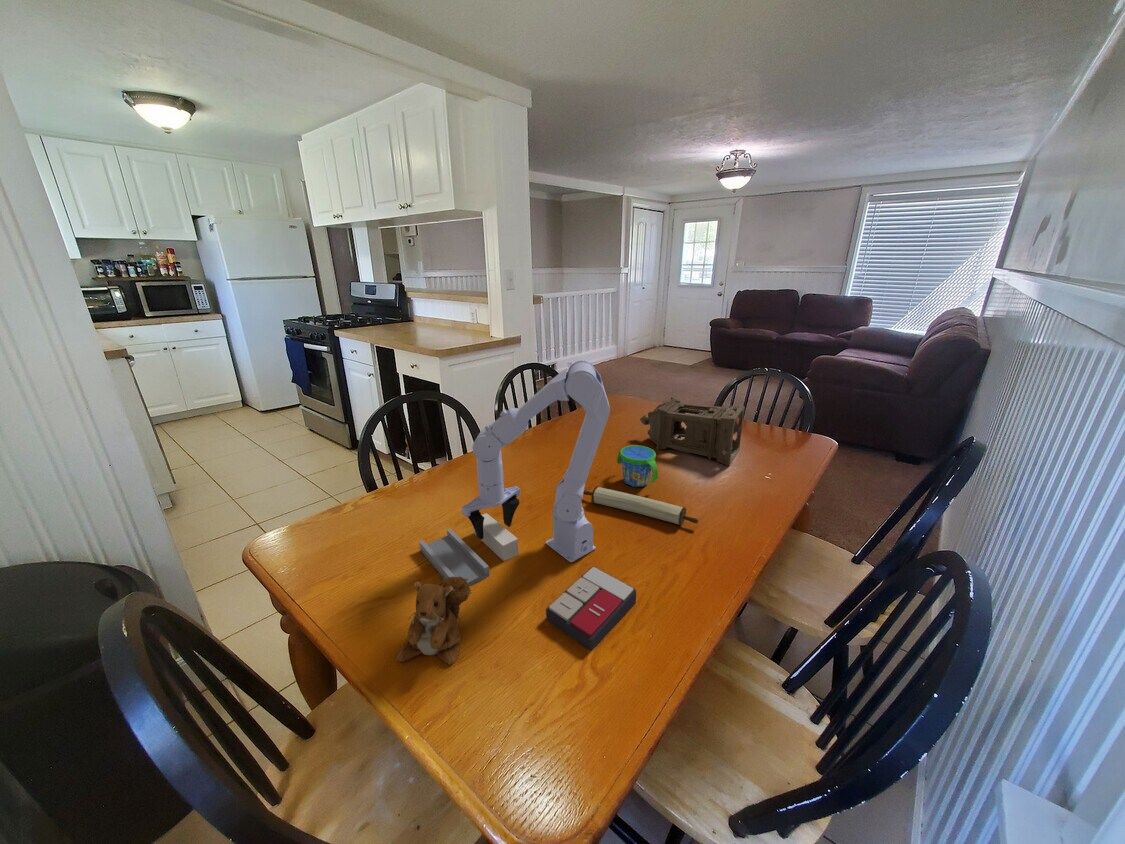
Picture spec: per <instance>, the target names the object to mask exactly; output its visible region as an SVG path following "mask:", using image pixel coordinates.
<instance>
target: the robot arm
mask: <svg viewBox="0 0 1125 844" xmlns="http://www.w3.org/2000/svg"><path fill="white" fill-rule="evenodd" d="M570 398H571V399H572V400H574V401H575V402H577V404H579V405H581V407H582V409H583V410H584V412H585V416H584V419H583V420H582V425H581V428H580V430H579V434H578V436H577V440H576V442H575V446H574V449H573V452H572V455H571V457H570V461H569V463H568V467H567V470H566V471H565V472H564V476H563V478H562V479H561V480H560V481H559V482H558V483H557V485H556V487H555V497H554V498H555V499H554V504H553V508H552V509H553V510H552V530H553V531H552V532H553V533H552V538H550V539H547V540H546V541H545V544H546V545H547V546H548V547H550V549H552V550H553V551H555V552H556V553H558V554H559V555H560V556H562V558H564V559H565V560H566V561H568V562H569V563H573V562H576V561H577V560H578V559H580V558H582V557H583V556H585V555H587V554H589V553H590V552H593V551H594V550H596V549H597V547H596V546H595V545H594V526H593V524H592V523H591V522H590V521H589V520H588V519H587V518H586V516H585V509H584V508H583V505H582V501H583V498H584V497H583V496H584V494H583V492H584V490H585V486H586V482H587V479H588V476H589V473H590V471H591V467H592V464H593V462H594V460H595V457H596V454H597V451H598V447H599V446H600V445H599V444H600V442H601V439H602V438H603V437H602V436H603V434H604V431H605V428H606V425H607V422H608V419H609V416H610V414H611V407H610V403H609V399H608V396H607V393H606V390H605V387H604V383H603V380H602V375H601V373H600V372H599V371H598V370H597V369H596V368H595V365H593V364H592V362H590V361H586V360H577V361H575V362H573V363H572V364H571V365H570V366H569V368H565V369H563V370H562V371H561V372H558V374H557V375H555V376H554V377H553V378H552V379H551V380H550V381H548V382H547V383H546V384H545V385H544V386H543V387H541V388H540V390H538V391H537V392H536V393H535V394H533V396H532V397H531V398H529V399H528V400H527V401H526V402H525V403H524V404H523V405H522V406H520V407H517V408H516V407H512V408H509V409H503V410H502V411H501V412H500V414H499V417H498V418H497V419H496V420H495V421H493V422H492V423H491V424H489V423H488V424H486V426H484V428H483V429H482V430H481V431H479V433H478V434H477V437H476V438H475V440H474V442H473V444H472V453H473V455H474V457H475V458H476V472H477V486H478V496H477V497H475V498H474V499H472V500H471V501H469V502H468V503H466V504H464V505H462V506H461V513H462V515H463V516H464V517H466V518H468V519H469V521H470V523H471V524H472V528H473V527H474V529H475V532H476V535H477V536H476V535H475V536H476V538H478V539H479V538H480V539H483V537H484V533H483V522H484V517H483V516H482V515H483V514H482V513H481V510H484V509H490V508H495V507H498V506H499V507H500V505H501V509H502V518H503V524H504V525H505V526H506V527H508V528H510V527H511V526H512V523H513V519H514V515H515V513H516V511H517V509H518V507H519V505H520V500H519V498H518V497H520V496H521V488H519V487H518V486H517V485H515V486H512V487H504V469H503V468H504V466H503V458H502V450H501V449H502V448H504V447H507V446H508V445H510V444H512V442H513V441H515V439H517V438H518V437H519V436H521V435H522V434H523V433H524V432H526V431H527V430H528V429H529V421H530V420H531V419H532V418H534V417H536V416H537V415H538V414H539V413H540V412H542V411H543V410H545V409H546V408H548V407H549V406H550V405H551V404H553V403H554V402H556V401H560V402H561V401H564V402H569V401H570ZM480 539H479V540H480Z"/></svg>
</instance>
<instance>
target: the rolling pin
mask: <svg viewBox="0 0 1125 844" xmlns="http://www.w3.org/2000/svg"><path fill="white" fill-rule="evenodd" d="M584 495H585V496H591V497H590V498H591V499H590V500H591V503H592V504H596V505H597V504H598V505H603V506H607V507H610V508H616V509H619V510H622V511H627V512H631V513H634V514H635V513H636V514H639V515H643V516H645V517H646V516H647V517H650V518H654V519H657V520H660V521H665V522H668V523H672V524H675V525H678V526H679V527H683V524H684V523H685V520H686V521H688V522H690V523H693V524H698V523H699V519H698V518H696V517H691V516H688V515H687V508H686V506H679V505H676V504H671V503H667V502H665V501H660V500H656V499H653V498H649V497H648V498H647V497H644V496H639V495H635V494H631V493H627V492H623V491H620V490H619V491H618V490H614V489H609V488H605V487H601V486H598V485H596V486H595V487H594V488H593V490H592V491H590V490H587V489H586V490H585V489H584V492H583V496H584Z"/></svg>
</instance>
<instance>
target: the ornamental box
mask: <svg viewBox="0 0 1125 844" xmlns="http://www.w3.org/2000/svg"><path fill="white" fill-rule="evenodd" d="M744 414H745V406H744V405H741V406H738V405H733V406H732V405H731V406H730V407H729V408H727V407H725V404H722V406H716V405H703V404H691V403H683V402H681V400H679V399H676V398H675V397H674V396H673V397H672V396H671V398H670V399H669V401H667V402H663V403H661V404H658V405H657V406H656V408H654V409H653V411H649V412H647V414H644V415H642V416H641V417H640V418H639V420H640V422H641V423H642V424H641V425H644V426H648V425H649V429H647V435H648V436H649V438H650V441H652V442H653V443H654V444H655V445H656V447H655V448H656V450H658V451H659V450H666V449H667V448H670V449H674V450H678V451H682V452H688V453H691V454H695V455H699V456H702V457H703V456H704V457H707V459H708V460H709V461H710V460H711V459H716V460H715V461H716V462H717V463H720V464H723V465H726V466H727V467H730V466H731V464H732V463H733V461H734V460H735V458H736V456H737V455H738V453H739V451H740V448H741V438H742V431H743V430H742V429H743V424H744ZM737 419H738V421H737ZM682 423H683V424H685V426H686V428H685V427H684V426H682ZM734 435H736V438H734V437H733V436H734Z"/></svg>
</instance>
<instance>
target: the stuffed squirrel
mask: <svg viewBox="0 0 1125 844" xmlns="http://www.w3.org/2000/svg"><path fill="white" fill-rule="evenodd" d="M467 581H468V578H467V579H465V578H463V577H461V576H460V577H448V578H445V579H444V578H442V580H441V581H439V582H438V583H437V584H430V583H424V584H421V583H420V581H416V582H414V586H415V589H416V591H417V594H416V596H415V612H413V613H412V614H410V616H409V617H408V620H410V619H411V617H412V616H413V618H412V620H411V623H410V624H409V627H408V632H407V637H408V641H407V642H405V644H404V645H403V646H402V648H401V649H400V651H399V652H398V654H397V656H396V657H397V658H396V659H397V660H398V661H399V662H401V663H404V662H406V661H409V660H411V659H412V658H415V657H417V656H418V655H420V654H421V653H422V654H423V655H425V656H434V655H436V654H437V656H438V657H439V658H440V659H441V660H442V661H443V662H445V663H446V664H448V666H449V665H450V666H451V665H453V664H455V662H456V660H457V658H458V654H459V651H460V647H461V635H460V629H459V623H458V620H459V618H460V616H459V615H460V606H461V605H462V603H464V602H467V600H468V599H469V596H470V595H471V594H472V589H471V588H470V586H469V583H468V582H467Z"/></svg>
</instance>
